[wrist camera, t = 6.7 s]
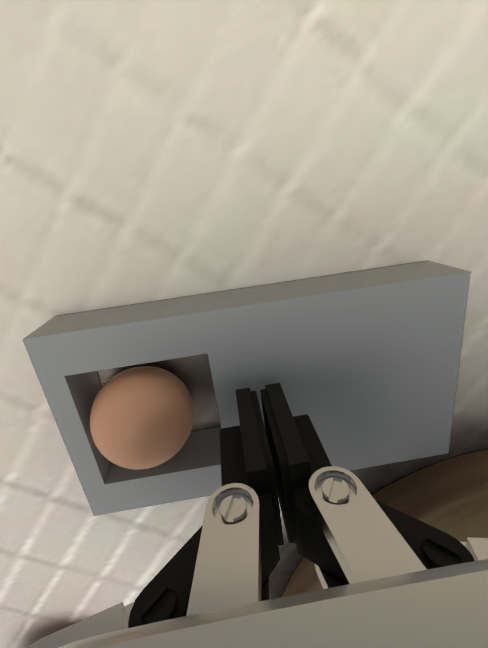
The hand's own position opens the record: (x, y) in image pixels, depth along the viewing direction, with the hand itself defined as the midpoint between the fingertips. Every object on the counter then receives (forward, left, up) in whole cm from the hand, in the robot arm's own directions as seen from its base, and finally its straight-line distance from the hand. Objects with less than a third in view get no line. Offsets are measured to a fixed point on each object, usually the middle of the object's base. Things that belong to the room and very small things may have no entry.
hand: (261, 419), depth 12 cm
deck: (0, 0, -3) cm, 3 cm away
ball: (0, +5, -1) cm, 5 cm away
